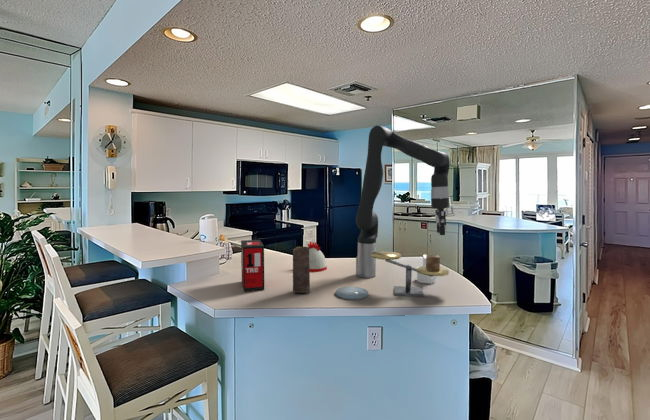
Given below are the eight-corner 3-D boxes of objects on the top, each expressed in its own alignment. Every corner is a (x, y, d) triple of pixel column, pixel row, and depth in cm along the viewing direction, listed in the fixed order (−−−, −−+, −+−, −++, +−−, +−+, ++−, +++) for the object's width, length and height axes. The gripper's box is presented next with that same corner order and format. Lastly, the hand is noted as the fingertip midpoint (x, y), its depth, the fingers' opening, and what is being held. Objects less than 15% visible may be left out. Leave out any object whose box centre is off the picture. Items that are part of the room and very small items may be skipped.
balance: (369, 294, 149) (370, 256, 148) (370, 285, 162) (371, 250, 161) (450, 299, 144) (451, 259, 142) (445, 289, 156) (446, 253, 155)
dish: (328, 294, 150) (328, 291, 150) (350, 287, 160) (350, 284, 160) (353, 302, 140) (353, 299, 140) (375, 294, 150) (375, 291, 150)
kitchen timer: (312, 264, 203) (312, 239, 202) (331, 268, 195) (331, 241, 194) (296, 269, 192) (296, 242, 191) (316, 273, 184) (316, 245, 183)
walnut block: (427, 270, 148) (427, 257, 148) (425, 268, 153) (426, 254, 153) (439, 271, 147) (439, 257, 147) (437, 268, 152) (438, 255, 152)
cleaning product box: (241, 281, 169) (241, 240, 167) (260, 280, 171) (259, 239, 169) (243, 292, 153) (243, 246, 151) (264, 290, 155) (263, 245, 154)
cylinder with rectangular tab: (436, 284, 166) (437, 259, 165) (417, 282, 167) (417, 258, 166) (434, 278, 174) (435, 255, 173) (416, 277, 176) (416, 254, 175)
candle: (303, 296, 147) (302, 249, 146) (289, 293, 151) (288, 247, 149) (313, 291, 154) (313, 246, 152) (299, 288, 158) (299, 244, 156)
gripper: (429, 197, 162) (430, 232, 163) (433, 197, 148) (434, 236, 149) (446, 196, 161) (447, 231, 161) (451, 197, 147) (452, 235, 147)
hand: (440, 233), depth 155 cm, fingers open, 8 cm apart
